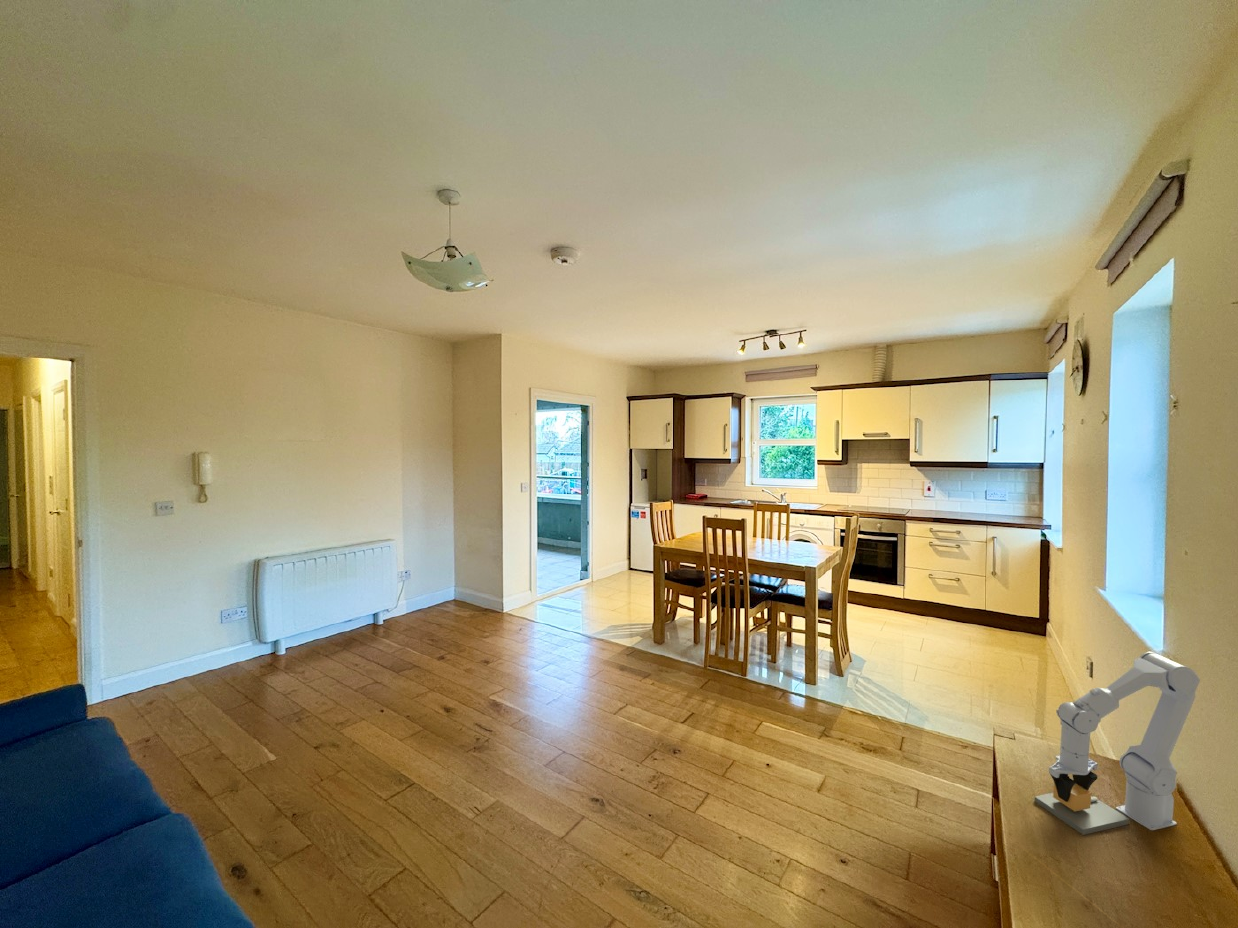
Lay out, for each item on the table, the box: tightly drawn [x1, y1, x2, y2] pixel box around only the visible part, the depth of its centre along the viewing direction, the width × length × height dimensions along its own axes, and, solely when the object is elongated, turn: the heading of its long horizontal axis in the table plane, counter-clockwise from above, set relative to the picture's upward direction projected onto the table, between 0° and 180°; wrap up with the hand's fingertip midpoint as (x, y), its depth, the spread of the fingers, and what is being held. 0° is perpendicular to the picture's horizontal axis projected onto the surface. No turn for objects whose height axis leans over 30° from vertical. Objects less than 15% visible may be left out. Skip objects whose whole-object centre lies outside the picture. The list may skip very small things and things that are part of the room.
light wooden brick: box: [1052, 782, 1092, 811], centre depth 136 cm, size 5×5×4 cm
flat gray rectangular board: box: [1034, 792, 1130, 836], centre depth 136 cm, size 16×12×4 cm
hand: (1071, 797), depth 136 cm, fingers closed on light wooden brick, 5 cm apart
